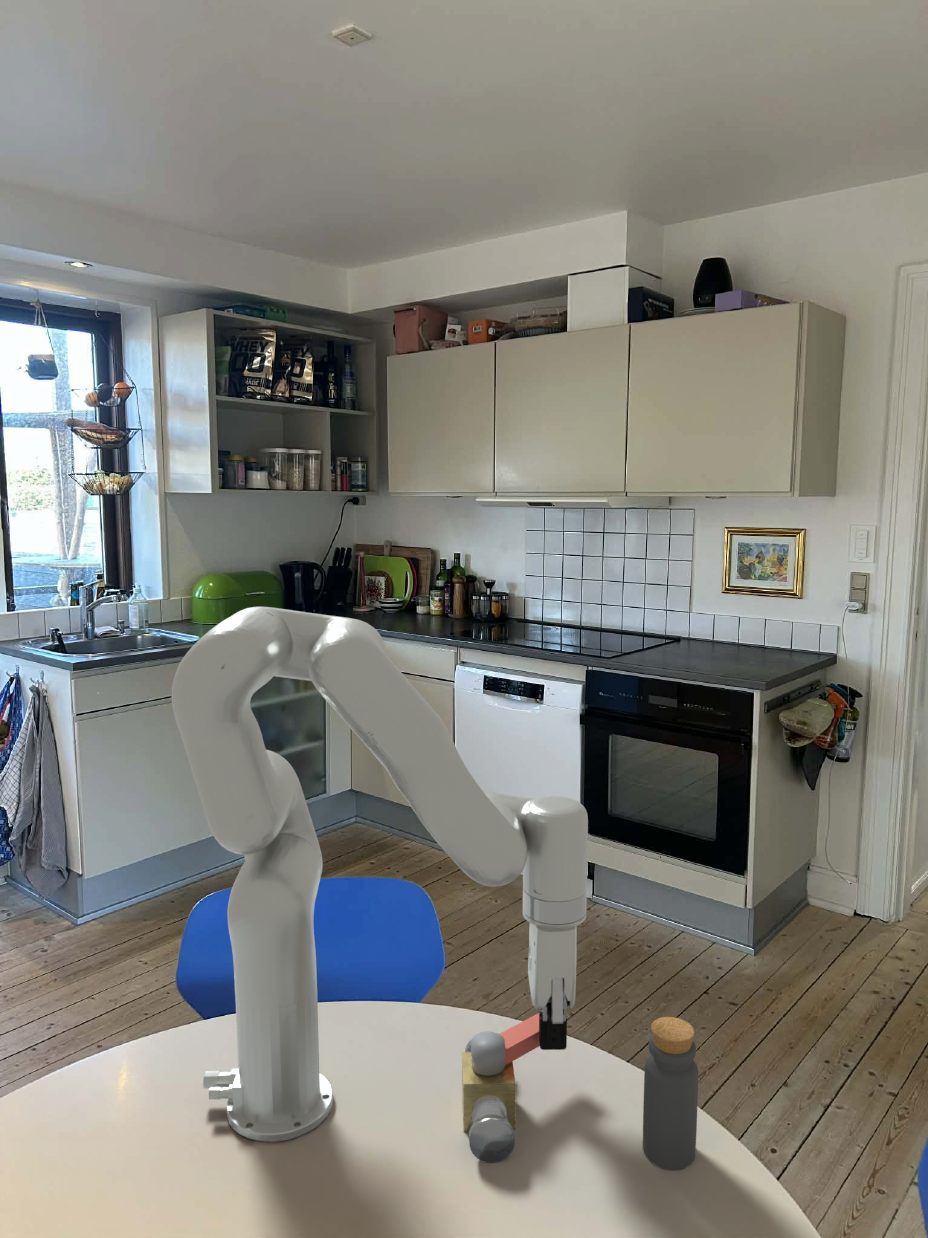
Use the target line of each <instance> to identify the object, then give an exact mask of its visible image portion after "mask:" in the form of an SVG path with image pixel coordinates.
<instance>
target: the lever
mask: <svg viewBox="0 0 928 1238" xmlns="http://www.w3.org/2000/svg"><path fill="white" fill-rule="evenodd" d="M470 1040H471V1067H472V1069H473V1070H474V1071H475V1072H476V1073H478V1074H481V1075H486V1076H491V1075H496V1074H498V1073H500V1072H502V1071H503V1070H504V1068H505V1065H507V1064H509V1063H510V1062H512V1061H513V1062H514V1061H516V1060H517V1059H519V1058H521V1057H523V1056H525V1055H526V1054H528V1053H530V1052H531V1051H533V1050H535V1049H536V1048H540V1043H539V1012H538V1013H536V1014H534V1015H532V1016H530V1017H528V1018H527V1019H525V1020H522V1021H521V1022H518V1023H517V1024H516V1025H514V1026H512V1027H510V1028H508V1029H506V1030H504V1031H502V1032H499V1033H498V1032H494V1031H482V1032H478V1033H477V1034H474V1035H473V1036H472V1037H471V1039H470Z"/></svg>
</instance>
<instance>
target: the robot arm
mask: <svg viewBox="0 0 928 1238" xmlns="http://www.w3.org/2000/svg"><path fill="white" fill-rule="evenodd" d="M386 651H387V650H386V646H385V642H384V640H383V638H382V635H381V634H380V633H379V631H378V630H377V629H376V628H375V627H374V626H372V625H370V624H369V623H368V622H366V621H363V620H361V619H357V618H351V617H346V616H345V617H344V616H336V615H327V614H321V613H314V612H313V613H312V612H306V611H299V610H293V609H285V608H280V607H279V608H278V607H272V606H270V607H269V606H253V607H247V608H244V609H241V610H239V611H237V612H236V613H234V614H232V615H231V616H229V617H227V618H225V619H223V620H222V621H221V622H219V623H218V624H216V625H215V626H214V627H212V628H210V629H209V630H208V631H207V632H206V633H205V634H204V635H202V636H201V637H200V639H198V640H197V641H196V643H194V644H193V645H192V646H191V647H190V649H189V650H188V651H187V652H186V653H185V655H184V656H183V658H182V659H181V661H180V662H179V665H178V666H177V669H176V672H175V674H174V676H173V679H172V685H171V705H172V710H173V715H174V719H175V723H176V726H177V729H178V731H179V735H180V737H181V740H182V743H183V747H184V750H185V753H186V756H187V759H188V763H189V766H190V770H191V774H192V777H193V780H194V783H195V786H196V789H197V793H198V796H199V798H200V801H201V805H202V808H203V811H204V814H205V815H204V816H205V818H206V822H207V825H208V827H209V830H210V832H211V835H213V838H214V839H215V840H216V842H217V843H218V844H219V845H220V846H221V847H222V848H224V849H225V850H227V851H228V852H230V853H233V854H235V855H241V856H242V855H243V856H244V863H242V865H241V868H240V869H239V872H238V874H237V876H236V878H235V879H234V880H235V881H234V882H233V885H232V887H231V890H230V895H229V900H228V904H227V914H226V915H227V928H228V934H229V940H230V945H231V952H232V962H233V975H234V976H233V979H234V997H235V1015H236V1018H235V1019H236V1020H235V1022H236V1041H237V1043H236V1044H237V1045H236V1046H237V1064H238V1065H237V1066H238V1067H232V1068H230V1069H231V1070H227V1071H226V1070H225V1071H223V1070H207V1071H206V1070H205V1071H204V1076H203V1080H202V1081H203V1083H202V1085H203V1089H204V1090H205V1089H208V1090H209V1091H208V1100H223V1099H227V1103H226V1118H227V1121H228V1123H229V1125H230V1126H231V1127H230V1128H232V1129H233V1130H234V1131H235V1132H237V1134H239V1135H240V1136H243V1137H245V1138H247V1139H251V1140H253V1141H259V1142H267V1143H268V1142H281V1141H287V1140H292V1139H294V1138H297V1137H298V1138H299V1137H300V1136H302V1135H304V1134H307V1133H308V1132H310V1131H312V1130H314V1129H315V1128H316V1127H318V1126H319V1125H321V1123H323V1122H324V1120H325V1119H326V1118H327V1117H328V1116H329V1114H330V1112H331V1110H332V1107H333V1103H334V1091H333V1086H332V1084H331V1083H330V1080H329V1079H328V1078H327V1077H326V1076H325V1075H323V1074H322V1073H320V1048H319V1047H320V1046H319V1045H320V1044H319V1010H318V1008H319V1007H318V981H317V980H318V978H317V972H318V971H317V954H316V941H315V934H314V933H315V929H314V913H315V903H316V899H317V894H318V891H319V886H320V885H319V884H320V882H321V878H322V874H323V873H322V872H323V856H322V850H321V847H320V842H319V840H318V839H319V838H318V836H317V833H316V829H315V826H314V824H313V820H312V817H311V814H310V810H309V807H308V804H307V799H306V798H305V794H304V790H303V788H302V785H301V782H300V779H299V777H298V775H297V773H296V770H295V769H294V768H293V766H292V765H291V763H289V761H288V760H287V759H286V758H284V757H283V756H282V755H280V754H279V753H277V752H275V751H272V750H269V749H267V748H266V745H265V743H264V739H263V734H262V731H261V728H260V726H259V723H258V720H257V719H256V717H255V715H254V713H253V710H252V707H251V701H252V700H251V699H252V697H253V695H254V694H255V693H256V692H257V691H259V689H261V688H262V687H263V686H264V685H266V684H268V682H270V681H271V680H272V678H273V677H278V678H287V679H294V680H301V681H307V682H309V681H310V682H311V683H312V684H313V686H314V687H315V689H316V690H317V691H318V692H319V694H320V695H321V697H322V698H323V699H324V700H325V702H327V703H328V704H329V706H330V707H331V708H332V709H333V711H335V712H336V713H337V715H338V716H339V717H340V718H341V719H342V720H343V722H345V724H346V725H347V726H348V727H349V728H350V729H351V730H352V732H353V733H354V735H356V736H357V738H358V739H359V740H360V741H361V742H362V743H363V744H364V745H365V747H366V748H367V749H368V750H369V751H370V752H371V754H372V755H373V756H374V757H375V759H377V761H378V762H379V763H380V764H381V765H382V766H383V768H384V769H385V771H386V772H387V773H388V775H389V777H390V778H391V780H392V782H393V784H394V785H395V787H396V788H397V789H398V790H399V792H400V793H401V795H402V797H404V800H406V802H407V803H408V805H409V806H410V808H411V809H412V810H413V812H414V813H415V815H416V816H417V818H418V819H419V821H420V822H421V824H422V825H423V826H424V828H425V829H426V830H427V832H428V833H429V834H430V835H431V837H432V838H433V839H434V840H435V842H436V843H437V844H438V845H439V846H440V848H442V849H443V851H444V852H445V854H447V855H448V857H450V859H451V860H452V861H453V862H454V863H455V864H456V866H458V868H459V869H460V870H461V871H462V872H463V873H464V874H465V875H466V876H467V877H469V878H470V879H471V880H473V881H475V882H476V883H478V884H481V885H483V886H485V887H502V886H505V885H506V886H507V884H510V883H511V882H513V881H515V880H516V879H517V878H518V877H519V876H520V875H521V873H522V917H523V919H525V920H526V922H528V923H529V930H528V931H529V934H528V937H529V938H528V940H529V941H528V958H527V959H528V960H527V961H528V963H527V974H528V984H529V992H530V999H531V1005H532V1006H533V1008H535V1010H539V1009H540V1011H539V1012H538V1013H539V1043H540V1046H539V1048H540V1050H543V1051H546V1050H547V1051H551V1050H553V1051H560V1050H566V1049H567V1045H568V1043H567V1042H568V1041H567V1039H568V1037H567V1036H568V1034H567V1033H568V1031H567V1029H568V1018H567V1017H568V1016H567V1008H568V1009H569V1010H571V1009H572V1008H574V1006H575V1004H576V1003H575V1002H576V990H577V989H576V987H577V985H576V983H577V945H578V944H577V942H578V941H577V937H578V936H577V933H578V932H577V931H578V930H577V926H579V925H581V924H582V923H584V922H585V921H586V919H587V900H588V899H587V892H588V889H587V887H588V885H587V884H588V883H587V882H588V845H589V844H588V843H589V842H588V839H589V838H588V837H589V836H588V833H589V826H588V825H589V819H588V816H589V815H588V812H587V809H586V808H585V806H584V805H583V804H582V803H581V802H579V801H578V800H575V799H572V798H570V797H569V798H568V797H564V796H556V795H555V796H554V795H553V796H544V797H539V798H530V797H522V796H516V795H510V794H504V793H503V794H502V793H497V792H496V793H495V792H493V793H492V792H487V793H486V792H484V791H483V789H482V788H481V787H480V786H479V784H478V783H477V781H476V780H475V779H474V777H473V776H472V774H471V773H470V771H469V769H468V768H467V766H466V764H464V763H465V762H464V761H463V758H462V757H461V756H460V755H461V754H459V751H458V749H457V747H456V744H455V742H454V740H453V737H452V735H451V734H450V732H449V730H448V728H447V726H446V725H445V723H444V721H443V720H442V718H441V717H440V715H439V714H438V713H437V712H436V711H435V710H434V709H433V708H432V706H431V705H430V704H429V703H428V702H427V700H425V698H424V697H423V696H422V695H421V693H419V691H418V690H417V689H416V687H414V686H413V685H412V683H411V682H410V681H409V680H408V679H407V677H406V676H405V675H404V674H403V673H402V672H401V670H400V669H399V668H398V666H397V665H396V664H395V663H394V661H392V659H390V657H389V656H388V655H387V654H386V653H387V652H386Z"/></svg>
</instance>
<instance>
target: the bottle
mask: <svg viewBox="0 0 928 1238" xmlns="http://www.w3.org/2000/svg"><path fill="white" fill-rule="evenodd" d="M650 1025H651V1026H650V1031H651V1036H650V1037H649V1040H648V1051H649V1055H647V1057H646V1059H645V1060H644V1075H643V1076H644V1077H643V1105H642V1106H643V1107H642V1108H643V1112H642V1114H643V1115H642V1118H643V1119H642V1151H643V1154H644V1155H645V1157H646V1159H648V1161H649V1162H651V1163H652V1164H653V1165H655V1166H657V1167H659V1168H661V1169H665V1170H671V1171H678V1170H683V1169H686V1168H689V1167H690V1166H691V1165H692V1164H693V1163H694V1161H695V1158H696V1151H697V1150H696V1149H697V1127H698V1125H697V1123H698V1122H697V1121H698V1101H699V1099H698V1097H699V1068H698V1065H697V1063H696V1061H695V1060H694V1059H696V1056H697V1055H696V1053H697V1046H696V1043H695V1042H694V1037H695V1035H696V1034H695V1032H696V1031H695V1029H694V1027H693V1026H692V1024H690V1023H689V1022H688V1021H687V1020H684V1019H682V1018H679V1017H673V1016H663V1017H659V1018H656V1019H655V1020H653V1022H651V1024H650Z"/></svg>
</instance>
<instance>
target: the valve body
mask: <svg viewBox="0 0 928 1238" xmlns="http://www.w3.org/2000/svg"><path fill="white" fill-rule="evenodd" d="M514 1068H515V1067H514V1061H512V1062H510V1063H509V1064H507V1065H505V1068H504V1070H503V1071H502V1072H500V1073H498V1074H496V1075H491V1076H486V1075H481V1074H478V1073H476V1072H475V1071H474V1070H473V1069H472V1067H471V1039H470V1040H469V1041H468V1042H467V1044H466V1047H465V1051H464V1052H463V1051H462V1052H461V1093H462V1094H461V1098H462V1099H461V1100H462V1104H461V1105H462V1124H463V1125H462V1126H463V1132H468V1139H469V1141H468V1143H469V1149H470V1151H471V1154H472V1155H473V1156H474V1157H475V1158H476V1159H477V1160H479V1161H481V1162H483V1163H488V1164H494V1163H500V1162H503V1161H504V1160H505V1159H506V1160H507V1158H508V1157H510V1155H511V1154H512V1152H513V1151H514V1147H515V1144H516V1143H515V1141H516V1140H515V1133H514V1131H516V1078H515V1071H514Z"/></svg>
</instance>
